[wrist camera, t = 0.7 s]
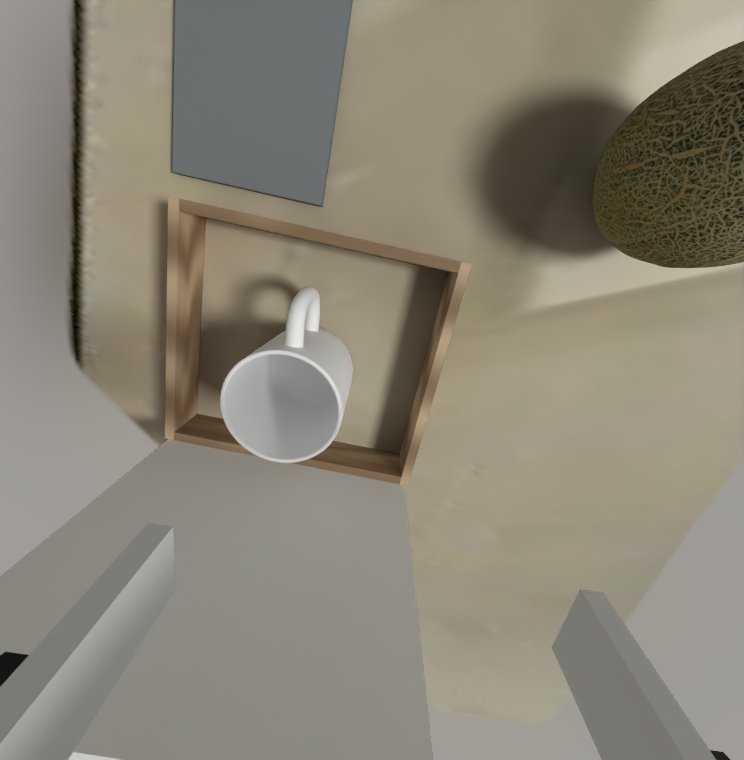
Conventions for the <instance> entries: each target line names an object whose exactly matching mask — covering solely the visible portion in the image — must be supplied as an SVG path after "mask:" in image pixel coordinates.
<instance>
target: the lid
mask: <svg viewBox="0 0 744 760" xmlns="http://www.w3.org/2000/svg"><path fill="white" fill-rule="evenodd" d="M148 523H154V524H160V525H167V526H173V536H174V577H175V592H174V594H173V595H172V597H171V598H170V600H169V601H168V603H167V605H166V606H165V608H164V609H163V611H162V612H161V614H160V616H159V617H158V619H157V620H156V622H155V624H154V625H153V627H152V628H151V630H150V631H149V633H148V635H147V636H146V638H145V639H144V641H143V642H142V644H141V646H140V647H139V649H138V650H137V652H136V654H135V655H134V657H133V658H132V660H131V661H130V663H129V665H128V666H127V668H126V669H125V671H124V672H123V674H122V676H121V677H120V679H119V680H118V682H117V684H116V685H115V687H114V688H113V690H112V691H111V693H110V695H109V696H108V698H107V699H106V701H105V702H104V704H103V706H102V707H101V709H100V710H99V712H98V714H97V715H96V717H95V718H94V720H93V721H92V723H91V725H90V726H89V728H88V729H87V731H86V732H85V734H84V736H83V737H82V739H81V740H80V742H79V744H78V745H77V747H76V748H75V750H74V751H73V753H72V755H71V756H70V758H69V759H68V760H433V755H432V745H431V735H430V725H429V715H428V706H427V696H426V686H425V677H424V667H423V657H422V647H421V638H420V628H419V618H418V609H417V599H416V589H415V580H414V570H413V560H412V551H411V541H410V531H409V521H408V512H407V502H406V492H405V485H400V484H395V483H390V482H385V481H380V480H375V479H370V478H365V477H359V476H354V475H349V474H344V473H339V472H334V471H329V470H324V469H319V468H313V467H308V466H303V465H298V464H293V463H281V462H274V461H270V460H266V459H263V458H261V457H257V456H252V455H247V454H242V453H237V452H232V451H226V450H221V449H216V448H211V447H206V446H201V445H196V444H191V443H185V442H180V441H175V440H170V439H168V440H166V441H165V442H164V443H163V444H162V445H160V446H159V447H158V448H157V449H155V450H154V451H153V452H152V453H151V454H149V455H148V456H147V457H146V458H144V459H143V460H142V461H141V462H140V463H138V464H137V465H136V466H135V467H133V468H132V469H131V470H130V471H129V472H127V473H126V474H125V475H124V476H122V477H121V478H120V479H119V480H118V481H116V482H115V483H114V484H113V485H111V486H110V487H109V488H108V489H107V490H105V491H104V492H103V493H102V494H101V495H99V496H98V497H97V498H96V499H94V500H93V501H92V502H91V503H89V504H88V505H87V506H86V507H85V508H83V509H82V510H81V511H80V512H79V513H77V514H76V515H75V516H74V517H72V518H71V519H70V520H69V521H67V522H66V523H65V524H64V525H63V526H61V527H60V528H59V529H58V530H57V531H55V532H54V533H53V534H52V535H50V536H49V537H48V538H47V539H45V540H44V541H43V542H42V543H41V544H39V545H38V546H37V547H36V548H34V549H33V550H32V551H31V552H30V553H29V554H27V555H26V556H25V557H24V558H22V559H21V560H20V561H19V562H17V563H16V564H15V565H14V566H12V567H11V568H10V569H9V570H8V571H6V572H5V573H4V574H3V575H2V576H0V655H1V654H3V653H4V652H12V653H19V654H26V655H30V653H31V652H32V651H33V650H34V649H35V648H36V647H37V646H38V645H39V643H40V642H41V641H42V640H43V639H44V638H45V637H46V636H47V635H48V634H49V632H50V631H51V630H52V629H53V628H54V627H55V626H56V625H57V624H58V622H59V621H60V620H61V619H62V618H63V617H64V616H65V615H66V614H67V612H68V611H69V610H70V609H71V608H72V607H73V606H74V605H75V604H76V603H77V601H78V600H79V599H80V598H81V597H82V596H83V595H84V594H85V593H86V591H87V590H88V589H89V588H90V587H91V586H92V585H93V584H94V583H95V581H96V580H97V579H98V578H99V577H100V576H101V575H102V574H103V573H104V572H105V570H106V569H107V568H108V567H109V566H110V565H111V564H112V563H113V562H114V560H115V559H116V558H117V557H118V556H119V555H120V554H121V553H122V552H123V550H124V549H125V548H126V547H127V546H128V545H129V544H130V543H131V542H132V541H133V539H134V538H135V537H136V536H137V535H138V534H139V533H140V532H141V531H142V529H143V528H144V527H145V526H146V525H147V524H148Z"/></svg>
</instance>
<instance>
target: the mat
mask: <svg viewBox="0 0 744 760" xmlns="http://www.w3.org/2000/svg"><path fill="white" fill-rule="evenodd" d="M352 2H353V0H175V39H174V100H173V161H172V172H174V173H176V174H180V175H184V176H189V177H193V178H198V179H202V180H206V181H211V182H215V183H220V184H224V185H228V186H233V187H237V188H242V189H246V190H250V191H255V192H259V193H264V194H268V195H273V196H277V197H281V198H286V199H290V200H295V201H299V202H303V203H308V204H312V205H317V206H321V207H323V201H324V194H325V187H326V180H327V173H328V166H329V160H330V153H331V146H332V139H333V132H334V125H335V118H336V112H337V105H338V98H339V91H340V84H341V77H342V71H343V64H344V57H345V50H346V43H347V36H348V29H349V23H350V16H351V9H352Z"/></svg>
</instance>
